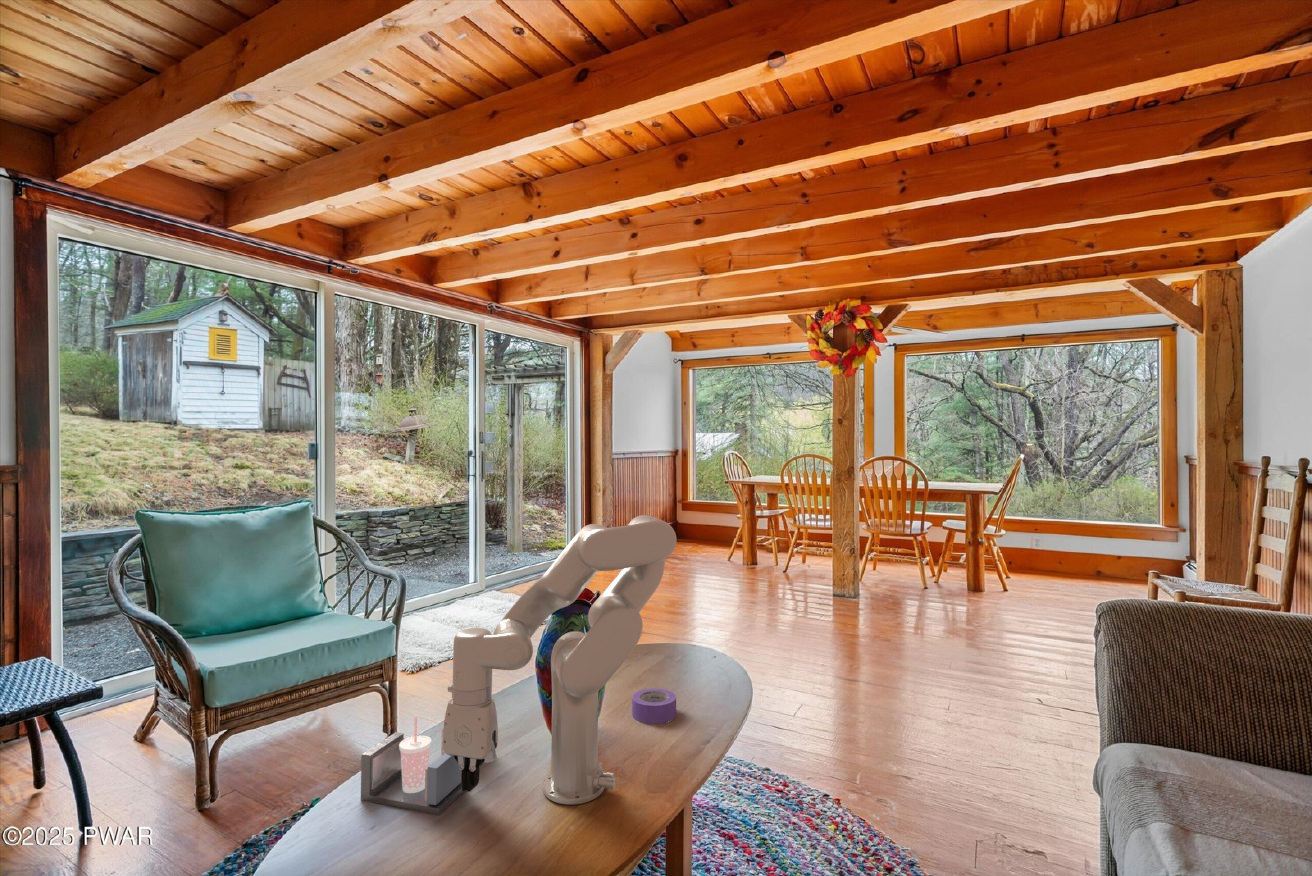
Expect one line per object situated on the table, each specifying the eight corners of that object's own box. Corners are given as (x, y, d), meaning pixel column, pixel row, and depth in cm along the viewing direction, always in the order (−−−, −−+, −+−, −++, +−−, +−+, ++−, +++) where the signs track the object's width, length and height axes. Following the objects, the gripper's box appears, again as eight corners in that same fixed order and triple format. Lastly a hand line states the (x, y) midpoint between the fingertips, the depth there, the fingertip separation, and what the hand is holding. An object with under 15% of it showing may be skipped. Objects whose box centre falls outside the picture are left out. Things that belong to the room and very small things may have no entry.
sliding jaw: (463, 780, 126) (463, 746, 126) (435, 805, 117) (436, 768, 117) (452, 778, 127) (453, 744, 127) (424, 803, 118) (425, 766, 118)
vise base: (468, 787, 126) (469, 743, 126) (438, 815, 117) (439, 767, 117) (394, 774, 131) (395, 732, 131) (360, 800, 121) (361, 754, 122)
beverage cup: (398, 782, 126) (400, 713, 126) (430, 776, 128) (431, 709, 128) (397, 798, 120) (399, 725, 121) (431, 792, 122) (432, 721, 123)
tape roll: (623, 717, 161) (623, 698, 161) (648, 702, 170) (648, 684, 170) (660, 729, 154) (660, 709, 154) (684, 713, 164) (684, 694, 164)
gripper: (427, 696, 119) (425, 791, 119) (496, 706, 115) (493, 804, 115) (450, 682, 126) (448, 772, 126) (515, 691, 122) (513, 784, 122)
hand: (470, 787), depth 120 cm, fingers closed
